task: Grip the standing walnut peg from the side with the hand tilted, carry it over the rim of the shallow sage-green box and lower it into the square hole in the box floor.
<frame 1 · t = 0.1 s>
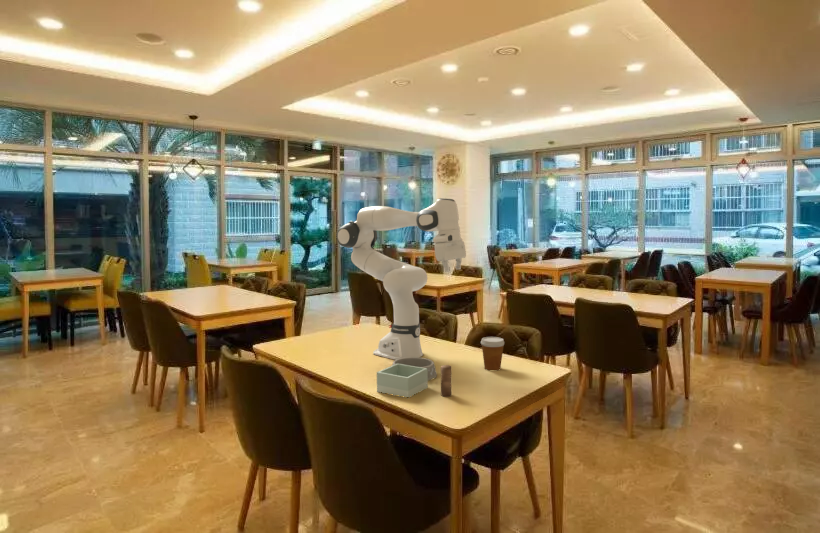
hand: (453, 270, 217), 39 cm above the table, tool pointing down, fingers open, 8 cm apart
dog bowl: (413, 376, 204), on the table
disposable coffee cup: (492, 369, 211), on the table
socket box: (402, 389, 186), on the table
peg: (446, 394, 180), on the table
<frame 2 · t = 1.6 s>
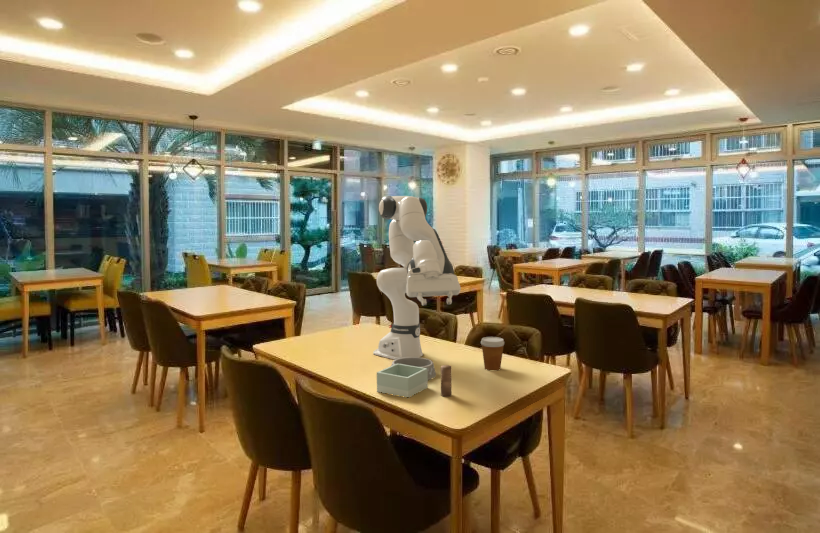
hand: (437, 303, 190), 30 cm above the table, tool tilted 45°, fingers open, 8 cm apart
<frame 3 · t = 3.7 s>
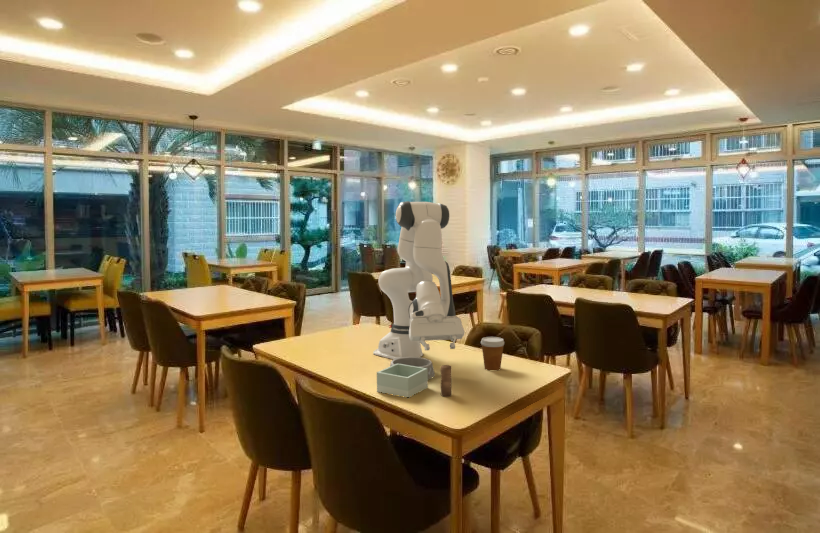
hand: (440, 348, 186), 14 cm above the table, tool tilted 45°, fingers open, 8 cm apart
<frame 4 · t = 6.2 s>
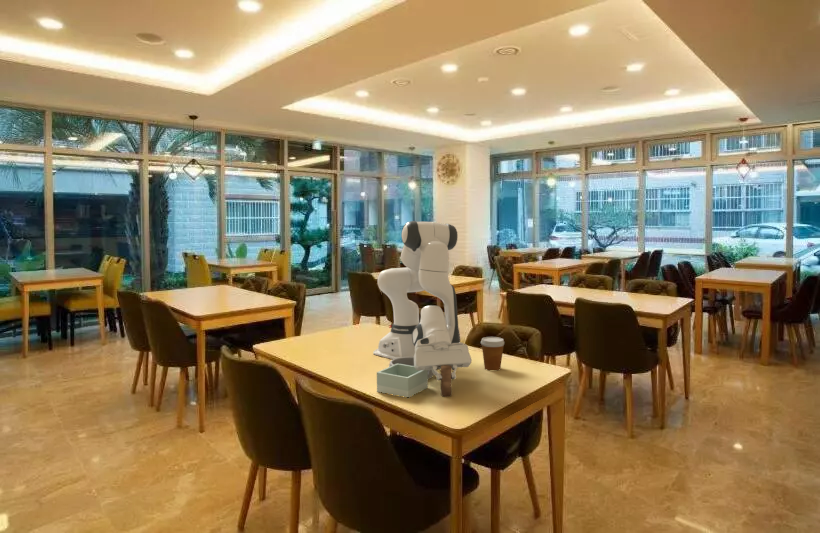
hand: (446, 378, 179), 6 cm above the table, tool tilted 45°, fingers closed on peg, 4 cm apart
peg: (446, 394, 180), on the table, touching gripper
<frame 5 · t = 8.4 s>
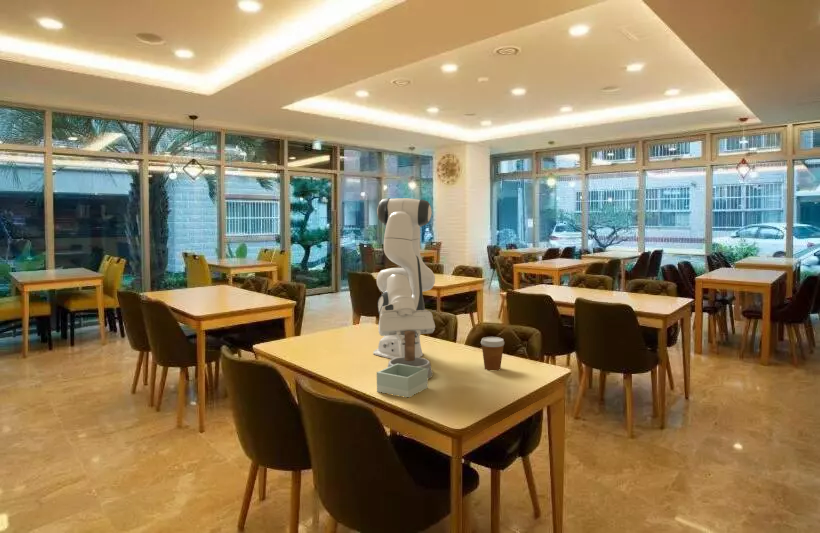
hand: (410, 343, 183), 17 cm above the table, tool tilted 45°, fingers closed on peg, 4 cm apart
peg: (409, 359, 184), point 11 cm above the table, touching gripper
when the fingers open (7 cm above the table, at t = 11.0 s): peg stays where it is, resting in socket box.
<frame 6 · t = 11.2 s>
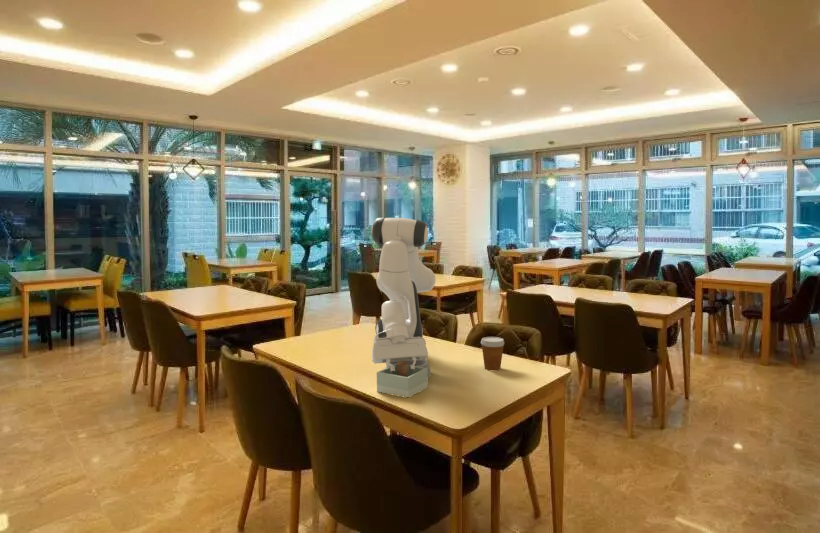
hand: (402, 371, 185), 7 cm above the table, tool tilted 45°, fingers open, 6 cm apart
peg: (402, 389, 186), resting in socket box
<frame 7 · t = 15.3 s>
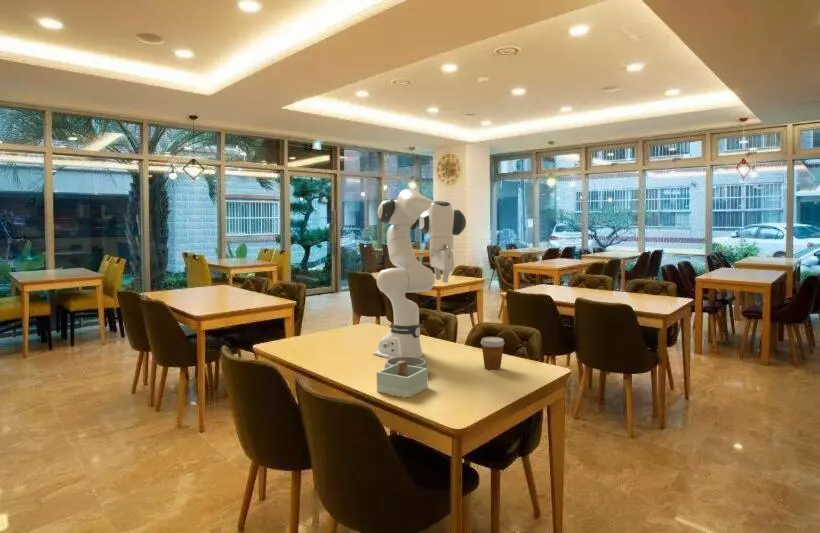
hand: (441, 280, 199), 37 cm above the table, tool pointing down, fingers open, 8 cm apart
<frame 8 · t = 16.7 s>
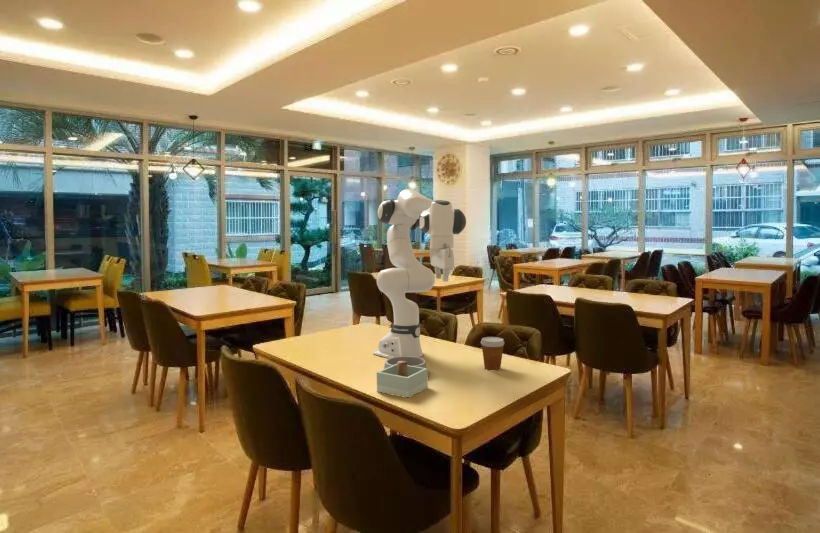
hand: (441, 279, 199), 37 cm above the table, tool pointing down, fingers open, 8 cm apart
at the end: peg 0.0 cm off-centre on the socket box, point 0.0 cm above the socket box's base; peg tilted 0°; the gripper is holding nothing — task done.
